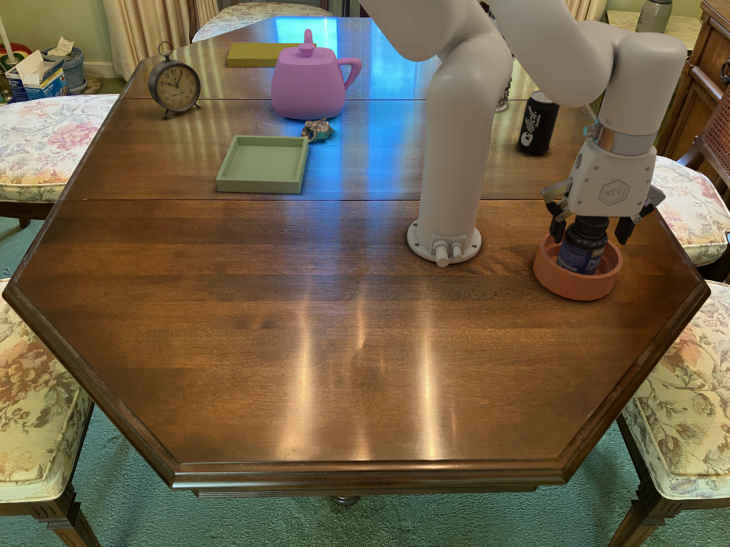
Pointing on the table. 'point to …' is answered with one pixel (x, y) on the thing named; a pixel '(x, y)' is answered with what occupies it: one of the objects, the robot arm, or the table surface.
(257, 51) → the flat olive board
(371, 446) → the table surface
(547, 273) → the bowl
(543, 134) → the beverage can
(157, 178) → the table surface
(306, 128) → the ornament
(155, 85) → the alarm clock
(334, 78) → the teapot
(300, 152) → the tray
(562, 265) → the pill bottle
